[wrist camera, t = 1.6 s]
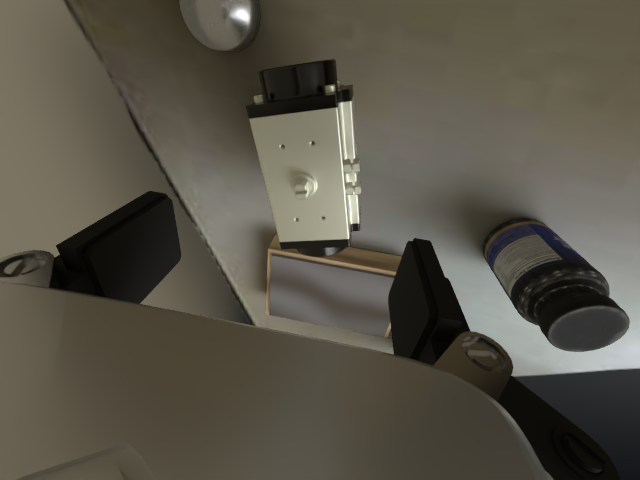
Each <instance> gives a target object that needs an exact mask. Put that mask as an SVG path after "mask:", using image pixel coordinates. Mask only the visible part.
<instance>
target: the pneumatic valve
mask: <svg viewBox="0 0 640 480" xmlns="http://www.w3.org/2000/svg"><path fill="white" fill-rule="evenodd" d="M259 77H260V82H261V87H262V91H263V95H256V96H254V101H255V103H253V104H250V105H248V106H246V109H247V113H248V117H249V121H250V125H251V129H252V133H253V137H254V141H255V145H256V149H257V153H258V157H259V162H260V166H261V170H262V174H263V178H264V182H265V186H266V190H267V194H268V198H269V202H270V206H271V210H272V214H273V218H274V222H275V227H276V231H277V235H278V239H279V243H280V247H281V249H297V250H298V251H299V252H300V253H301V254H303V255H306V256H310V257H326V256H331V255H334V254H337V253H339V252H341V251H343V250H344V249H345V248H346V247H350V245H351V232H352V231H360V195H361V184H360V181H359V179H358V173H359V172H360V167H359V159H358V158H357V147H356V130H355V114H354V98H353V85H347V86H344V85H341V84H340V80H337V70H336V61H335V60H334V59H332V60H324V61H316V62H310V63H303V64H296V65H290V66H284V67H278V68H272V69H266V70H261V71H259Z"/></svg>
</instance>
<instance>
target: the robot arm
mask: <svg viewBox="0 0 640 480" xmlns="http://www.w3.org/2000/svg"><path fill="white" fill-rule="evenodd" d="M56 247H57V249H58V251H59V253H60V255H58V256H57V257H55V258H54V256H53V254H51V253H50V252H47V251H41V250H32V251H24V252H19V253H15V254H12V255H9V256H6V257H3V258H1V259H0V480H620V478H619V475H618V473H617V470H616V467H615V466H614V464H613V462H612V461H611V459H610V458H609V456H608V455H607V454H606V452H605V451H604V450H603V449H602V448H601V447H600V446H599V444H598V443H597V442H595V441H594V440H593V439H592V438H591V437H590V436H589V435H587V434H586V433H585V432H584V431H582V430H581V429H580V428H578V427H577V426H576V425H574V424H573V423H572V422H571V421H569V420H568V419H567V418H565V417H564V416H563V415H562V414H560V413H559V412H558V411H556V410H555V409H554V408H552V407H551V406H550V405H549V404H547V403H546V402H545V401H543V400H542V399H541V398H540V397H538V396H537V395H536V394H534V393H533V392H532V391H530V390H529V389H528V388H527V387H525V386H524V385H523V384H522V383H520V382H519V381H518V380H516V379H515V378H514V377H512V376H511V374H512V371H513V364H512V360H511V358H510V357H509V355H508V353H507V352H506V351H505V350H504V349H503V348H502V346H501V345H499V344H498V343H497V342H495V341H494V340H493V339H491V338H489V337H487V336H486V335H483V334H480V333H477V332H471V331H470V329H469V327H468V324H467V322H466V319H465V317H464V315H463V312H462V310H461V307H460V305H459V302H458V300H457V298H456V295H455V293H454V290H453V288H452V285H451V283H450V281H449V279H447V278H445V276H444V274H443V271H442V269H441V266H440V264H439V261H438V259H437V256H436V254H435V251H434V249H433V246H432V243H431V242H430V241H428V240H423V239H417V238H415V239H413V241H408V242H407V244H406V247H405V250H404V253H403V255H402V258H401V261H400V264H399V267H398V269H397V272H396V275H395V278H394V280H393V283H392V286H391V289H390V291H389V295H388V305H389V314H390V323H391V332H392V340H393V349H394V355H393V354H389V353H385V352H380V351H376V350H372V349H367V348H362V347H357V346H352V345H347V344H343V343H338V342H333V341H328V340H323V339H318V338H313V337H308V336H303V335H298V334H293V333H288V332H283V331H278V330H273V329H268V328H263V327H257V326H252V325H247V324H241V323H237V322H231V321H226V320H221V319H216V318H211V317H206V316H201V315H195V314H190V313H185V312H179V311H174V310H169V309H164V308H158V307H153V306H148V305H143V304H140V303H141V302H142V301H143V300H144V298H146V297H147V295H148V294H149V293H150V292H151V291H152V290H153V289H154V288H155V287H156V286H157V285H158V284H159V283H160V282H161V280H162V279H163V278H164V277H165V276H166V275H167V274H168V273H169V272H170V271H171V270H172V269H173V268H174V266H175V265H176V264H177V263H178V262H179V261H180V258H181V250H180V244H179V238H178V232H177V226H176V220H175V215H174V209H173V203H172V200H171V199H170V198H169V197H168V196H167V195H166V194H164V193H158V192H153V191H149V192H147V193H145V194H143V195H141V196H140V197H138V198H136V199H135V200H133V201H131V202H130V203H128V204H126V205H125V206H123V207H121V208H119V209H118V210H116V211H114V212H113V213H111V214H109V215H107V216H106V217H104V218H102V219H101V220H99V221H97V222H95V223H94V224H92V225H90V226H89V227H87V228H85V229H83V230H82V231H80V232H78V233H77V234H75V235H73V236H72V237H70V238H68V239H66V240H65V241H63V242H61V243H60V244H58V245H56Z"/></svg>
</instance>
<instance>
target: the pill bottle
mask: <svg viewBox="0 0 640 480" xmlns="http://www.w3.org/2000/svg"><path fill="white" fill-rule="evenodd" d="M483 253H484V256H485V259H486V261H487V263H488V264H489V266H490V268H491V270H492V271H493V273H494V274H495V276H496V278H497V279H498V281H499V282H500V284H501V286H502V287H503V289H504V291H505V292H506V294H507V295H508V297H509V298H510V300H511V302H512V303H513V305H514V307H515V308H516V310H517V311H518V313H519V314H520V315H521V316H522V317H523V318H524V319H525V320H527V321H529V322H531V323H533V324H535V325H538V326H540V328H541V331H542V332H543V334H544V335H545V336H546V338H547V339H548V341H549V342H550V343H551V344H552V345H554V346H555V347H557V348H559V349H562V350H565V351H573V352H584V351H591V350H596V349H600V348H603V347H605V346H608V345H610V344H612V343H614V342H615V341H617V340H618V339H620V338H621V337H622V336H623V335H624V334H625V333H626V331H627V330H628V328H629V323H630V321H629V317H628V316H627V314H626V313H625V311H624V310H623V309H621V308H620V307H619V306H618V305H617V304H616V303H615V301H613V300H612V299H611V298H609V294H610V293H609V285H608V282H607V281H606V279H605V278H604V277H603V275H602V274H601V273H600V272H598V271H597V270H596V269H595V268H594V267H593V266H591V265H590V264H589V263H588V262H587V261H586V260H585V259H584V258H582V257H581V256H580V255H579V254H578V253H577V252H576V251H575V250H573V249H572V248H571V247H570V246H569V245H568V244H567V243H566V242H565V241H563V240H562V239H561V238H560V237H559V236H558V235H557V234H556V233H554V232H553V231H552V230H551V229H550V228H549V227H548V226H546V225H545V224H544V223H542V222H539V221H533V220H531V219H516V220H512V221H509V222H507V223H505V224H503V225H501V226H499V227H497V228H496V229H495V230H494V231H492V232H491V233H490V235H489V236H488V237H487V239H486V241H485V243H484V248H483Z"/></svg>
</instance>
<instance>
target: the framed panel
mask: <svg viewBox="0 0 640 480" xmlns="http://www.w3.org/2000/svg"><path fill="white" fill-rule="evenodd" d="M401 258H402V256H396V255H391V254H385V253H380V252H374V251H369V250H363V249H358V248H352V247H346V248H345V249H344V250H343V251H341V252H339V253H337V254H334V255H331V256H326V257H310V256H306V255H303V254H301V253H300V252H299V251H298V250H297V249H281V247H280V243H279V239H278V235H277V234H275V236H274V238H273V240H272V242H271V244H270V246H269V248H268V267H267V297H266V315H271V316H276V317H282V318H287V319H292V320H297V321H302V322H308V323H313V324H318V325H323V326H328V327H334V328H339V329H344V330H349V331H354V332H360V333H365V334H370V335H375V336H380V337H386V338H387V337H388V334H389V332H390V329H391V323H390V314H389V305H388V295H389V291H390V289H391V286H392V283H393V280H394V278H395V275H396V272H397V269H398V267H399V264H400V261H401Z"/></svg>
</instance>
